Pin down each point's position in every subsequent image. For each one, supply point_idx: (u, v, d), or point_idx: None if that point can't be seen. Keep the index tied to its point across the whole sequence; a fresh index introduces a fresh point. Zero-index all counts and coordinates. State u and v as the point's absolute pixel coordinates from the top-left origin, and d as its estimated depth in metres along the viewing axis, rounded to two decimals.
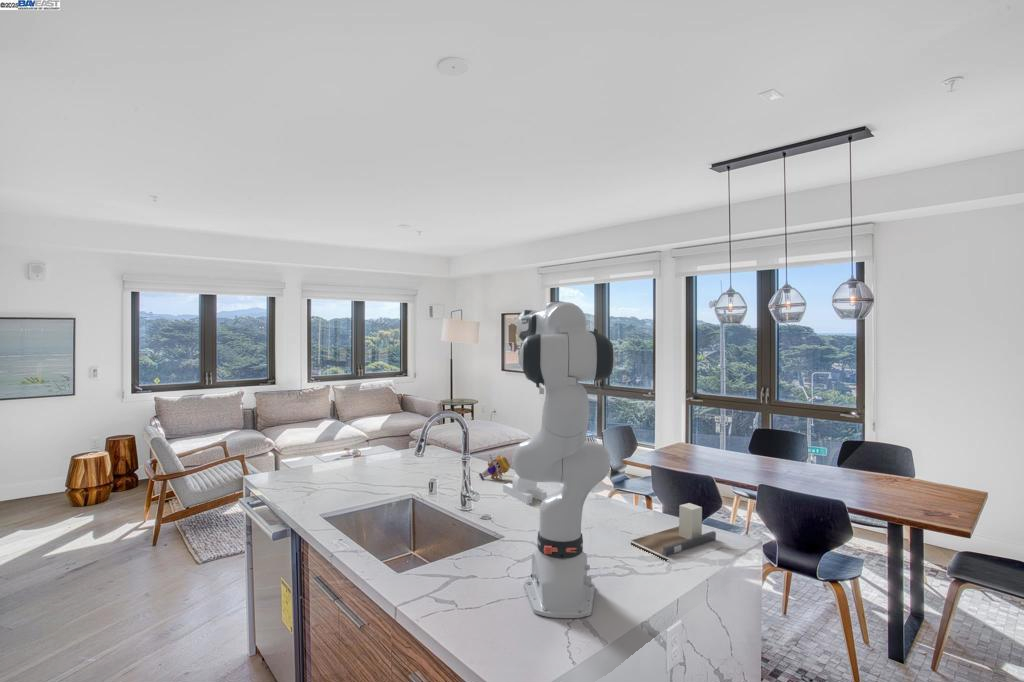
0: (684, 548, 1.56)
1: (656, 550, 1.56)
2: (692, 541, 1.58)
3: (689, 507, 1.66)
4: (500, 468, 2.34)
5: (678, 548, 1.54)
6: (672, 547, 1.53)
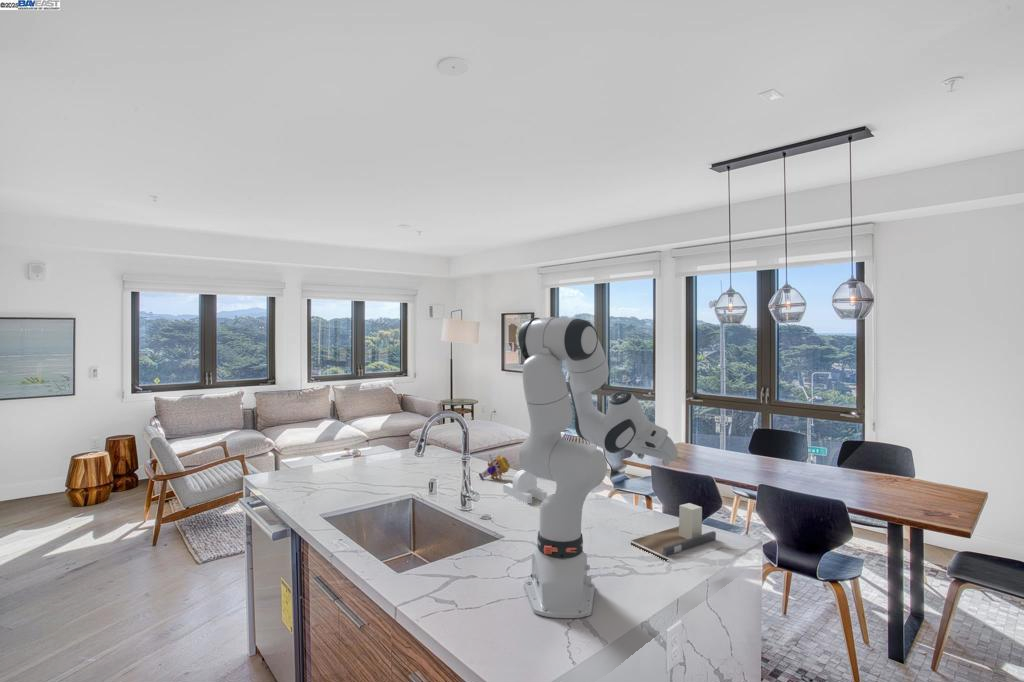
0: (684, 548, 1.56)
1: (656, 550, 1.56)
2: (692, 541, 1.58)
3: (689, 507, 1.66)
4: (500, 468, 2.34)
5: (678, 548, 1.54)
6: (672, 547, 1.53)
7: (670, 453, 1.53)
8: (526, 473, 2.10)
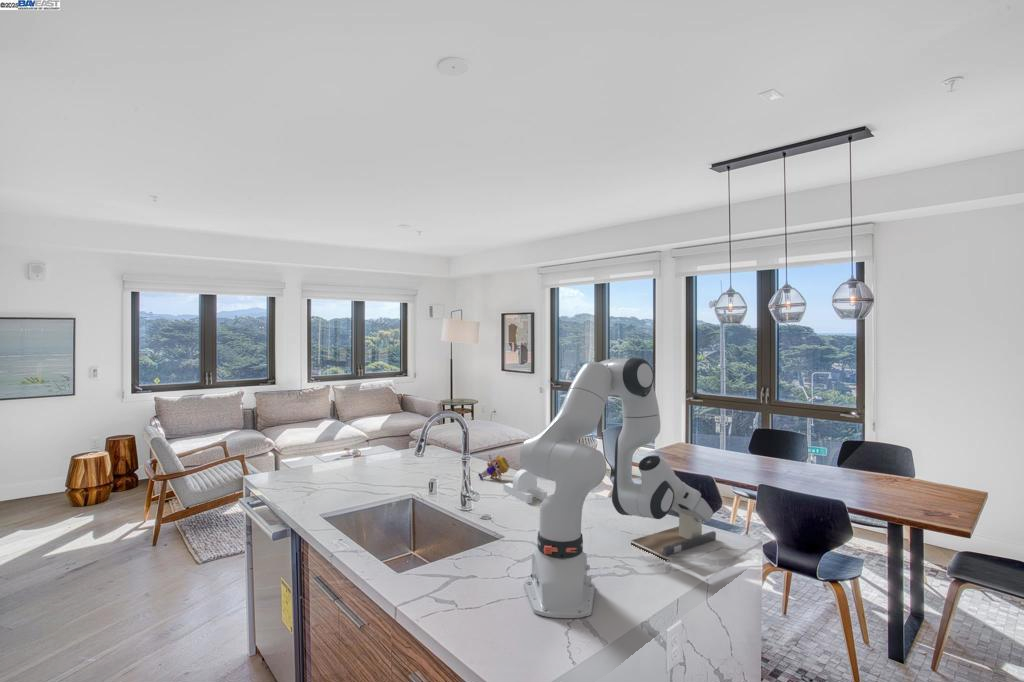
0: (684, 548, 1.56)
1: (656, 550, 1.56)
2: (692, 541, 1.58)
3: None
4: (499, 468, 2.34)
5: (678, 548, 1.54)
6: (672, 547, 1.53)
7: (705, 515, 1.55)
8: (526, 473, 2.10)
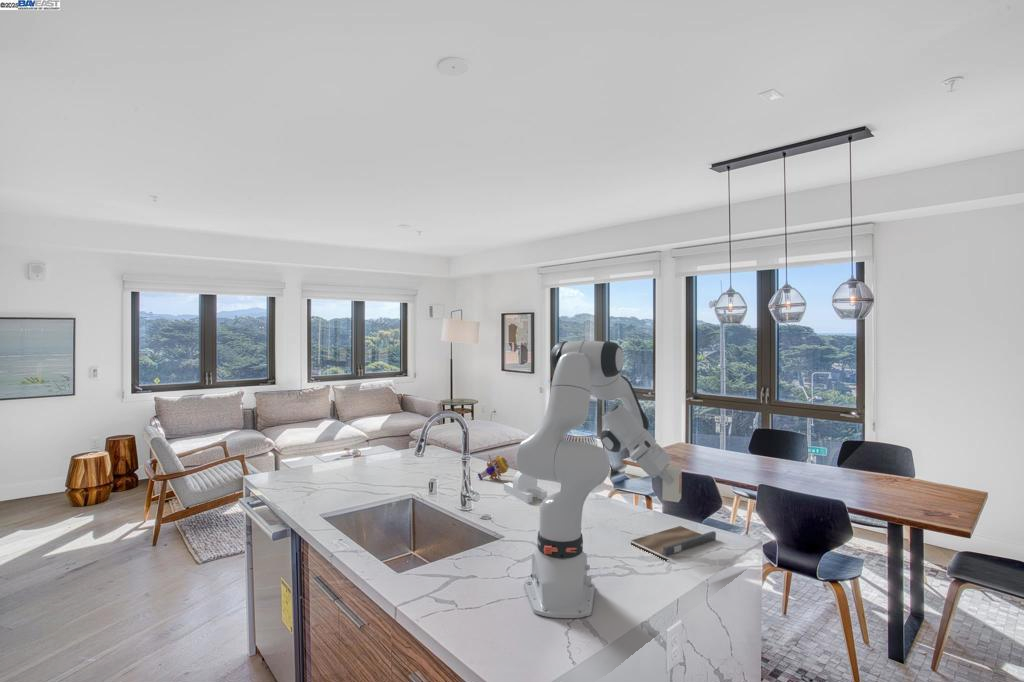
0: (684, 548, 1.56)
1: (656, 550, 1.56)
2: (692, 541, 1.58)
3: (667, 467, 1.62)
4: (498, 468, 2.33)
5: (678, 548, 1.54)
6: (672, 547, 1.53)
7: (646, 468, 1.56)
8: None
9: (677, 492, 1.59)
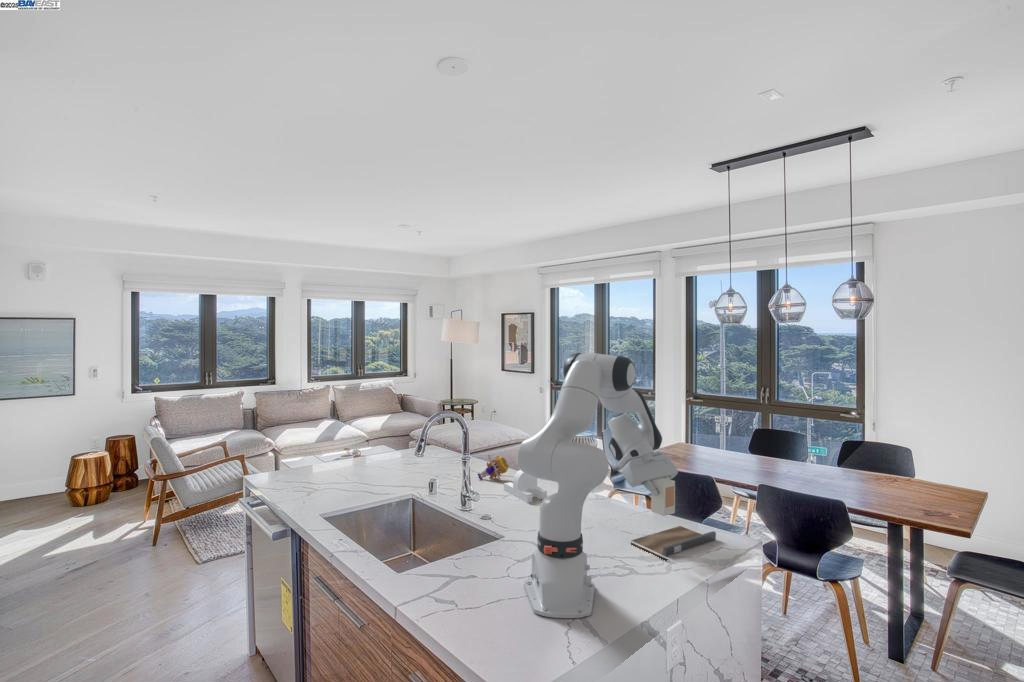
0: (684, 548, 1.56)
1: (656, 550, 1.56)
2: (692, 541, 1.58)
3: (658, 479, 1.60)
4: (498, 468, 2.33)
5: (678, 548, 1.54)
6: (672, 547, 1.53)
7: (626, 476, 1.59)
8: None
9: (663, 505, 1.56)
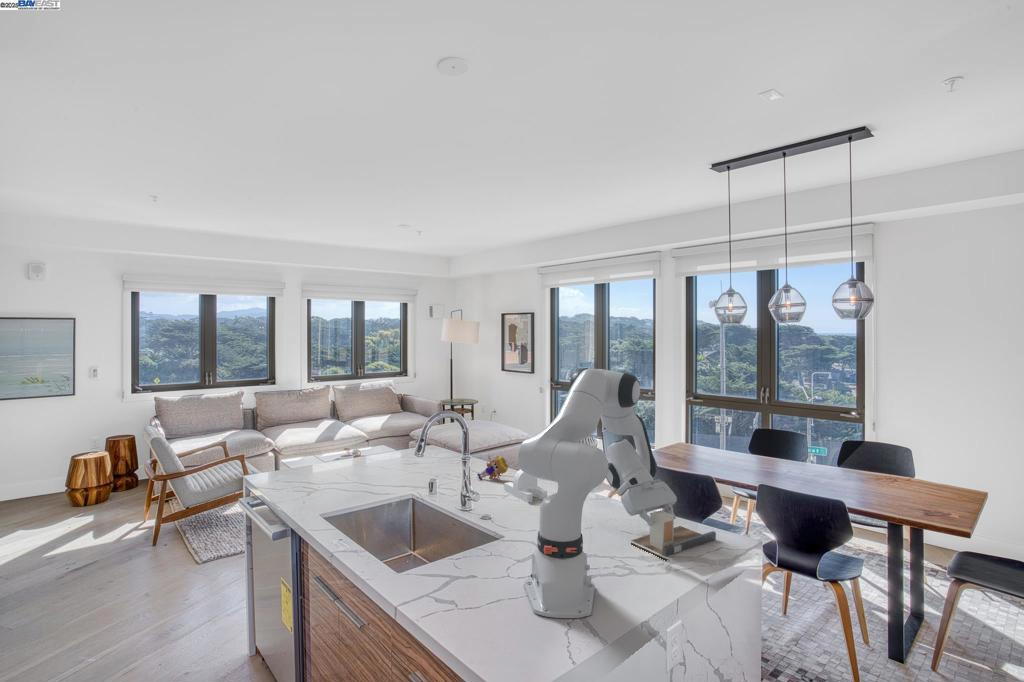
0: (684, 548, 1.56)
1: (656, 550, 1.56)
2: (692, 541, 1.58)
3: (657, 513, 1.60)
4: (498, 469, 2.33)
5: (678, 548, 1.54)
6: (672, 547, 1.53)
7: (625, 505, 1.59)
8: None
9: (661, 540, 1.56)
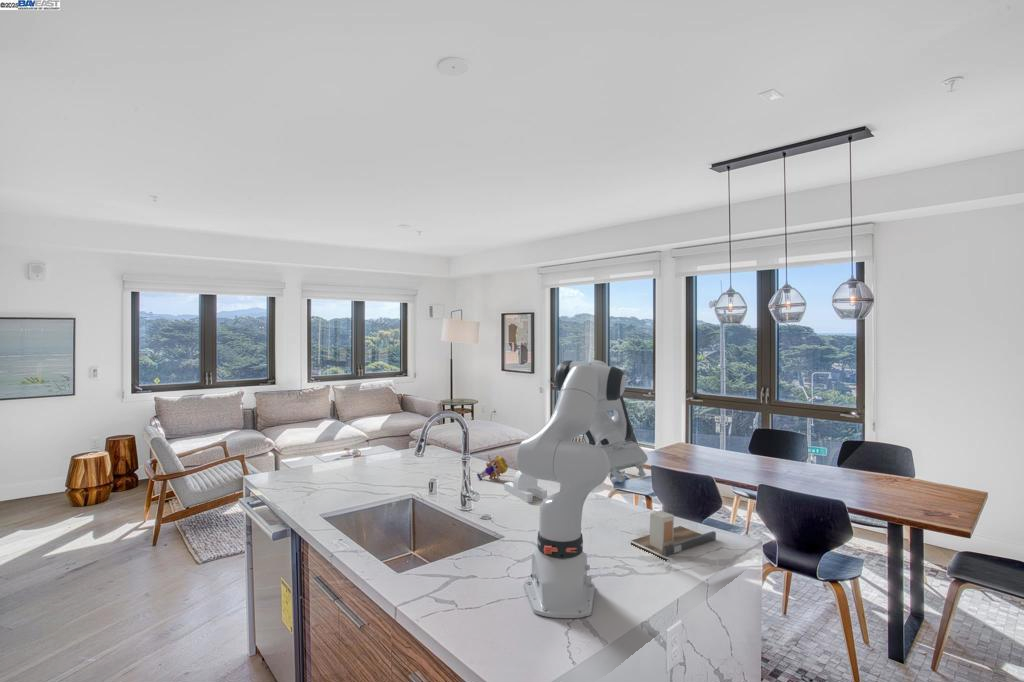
0: (684, 548, 1.56)
1: (656, 550, 1.56)
2: (692, 541, 1.58)
3: (657, 513, 1.60)
4: (498, 469, 2.33)
5: (678, 548, 1.54)
6: (672, 547, 1.53)
7: None
8: None
9: (661, 540, 1.56)
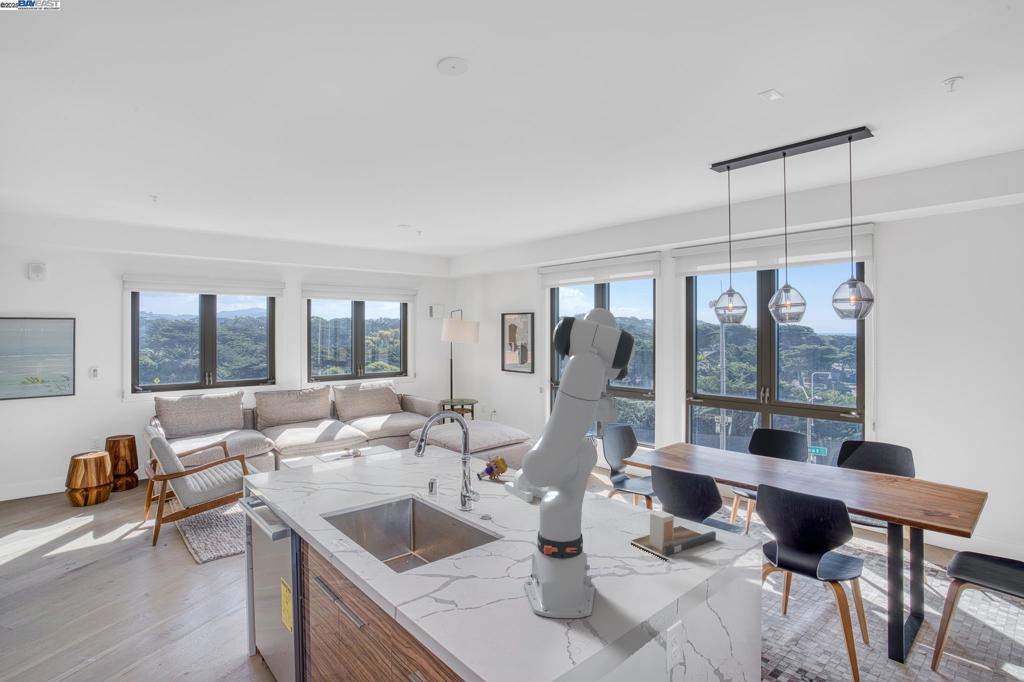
0: (684, 548, 1.56)
1: (656, 550, 1.56)
2: (692, 541, 1.58)
3: (657, 513, 1.60)
4: (497, 469, 2.33)
5: (678, 548, 1.54)
6: (672, 547, 1.53)
7: None
8: None
9: (661, 540, 1.56)
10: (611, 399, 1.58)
